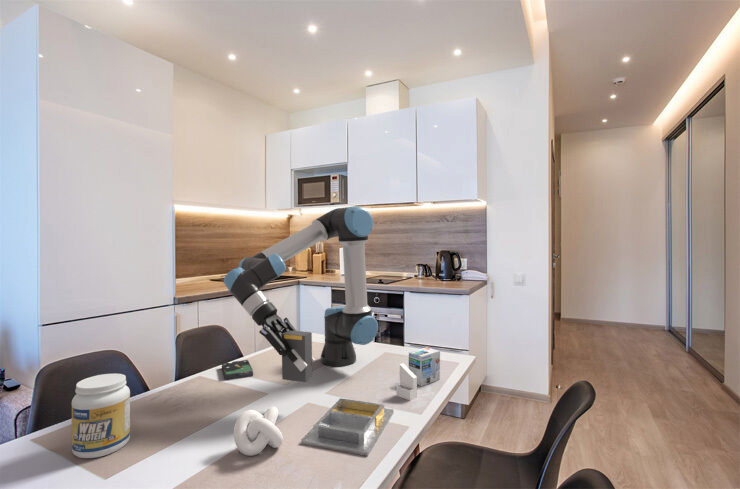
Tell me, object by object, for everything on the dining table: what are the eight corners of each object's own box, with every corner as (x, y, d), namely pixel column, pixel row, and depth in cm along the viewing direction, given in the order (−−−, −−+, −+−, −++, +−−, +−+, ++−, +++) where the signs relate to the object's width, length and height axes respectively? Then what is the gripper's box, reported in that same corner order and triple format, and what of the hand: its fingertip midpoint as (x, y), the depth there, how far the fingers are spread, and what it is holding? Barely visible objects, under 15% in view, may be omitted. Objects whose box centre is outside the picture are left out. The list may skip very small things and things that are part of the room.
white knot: (246, 434, 103) (245, 401, 103) (290, 434, 103) (290, 401, 103) (229, 458, 92) (229, 421, 92) (279, 459, 91) (279, 421, 91)
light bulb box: (421, 386, 136) (421, 356, 135) (407, 381, 141) (407, 352, 140) (440, 379, 143) (440, 350, 142) (426, 374, 148) (426, 346, 147)
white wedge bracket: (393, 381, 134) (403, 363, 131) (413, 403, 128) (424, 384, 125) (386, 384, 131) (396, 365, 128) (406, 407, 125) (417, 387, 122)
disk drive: (221, 370, 155) (224, 381, 142) (221, 363, 155) (224, 374, 142) (247, 366, 160) (253, 377, 146) (247, 359, 160) (253, 369, 146)
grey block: (289, 374, 122) (289, 330, 122) (312, 376, 120) (311, 332, 119) (282, 379, 118) (281, 334, 117) (305, 382, 115) (304, 335, 115)
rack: (338, 404, 121) (338, 393, 121) (393, 412, 115) (393, 401, 115) (301, 443, 98) (301, 430, 98) (367, 456, 93) (367, 441, 93)
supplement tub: (64, 465, 89) (63, 393, 89) (80, 440, 100) (78, 375, 100) (126, 453, 94) (125, 385, 94) (134, 430, 105) (133, 369, 105)
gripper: (269, 311, 131) (313, 364, 127) (236, 323, 115) (285, 384, 110) (282, 296, 129) (328, 349, 125) (250, 306, 113) (302, 367, 108)
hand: (308, 365), depth 117 cm, fingers closed on grey block, 4 cm apart
